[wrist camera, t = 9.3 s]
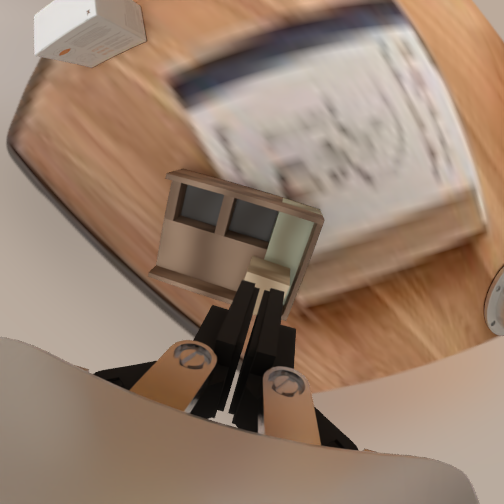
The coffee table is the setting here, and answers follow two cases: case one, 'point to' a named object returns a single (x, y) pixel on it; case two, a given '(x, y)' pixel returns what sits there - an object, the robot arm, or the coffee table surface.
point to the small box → (87, 30)
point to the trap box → (231, 236)
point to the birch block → (267, 277)
